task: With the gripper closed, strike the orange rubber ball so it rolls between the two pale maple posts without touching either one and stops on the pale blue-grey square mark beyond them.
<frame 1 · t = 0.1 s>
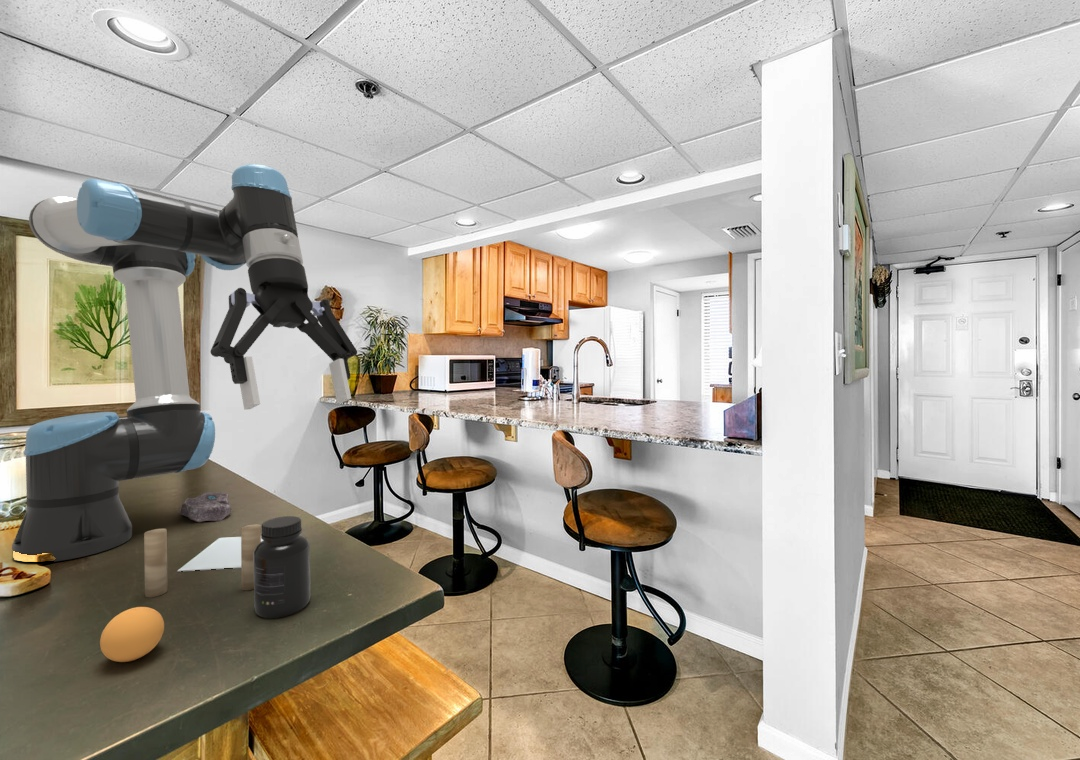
hand: (302, 403, 67), 28 cm above the table, tool tilted 20°, fingers open, 13 cm apart
ball: (133, 633, 53), on the table
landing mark: (244, 551, 83), on the table
post 1: (156, 592, 68), on the table
post 2: (251, 586, 70), on the table
supplement bottle: (282, 608, 65), on the table
rock: (205, 517, 101), on the table
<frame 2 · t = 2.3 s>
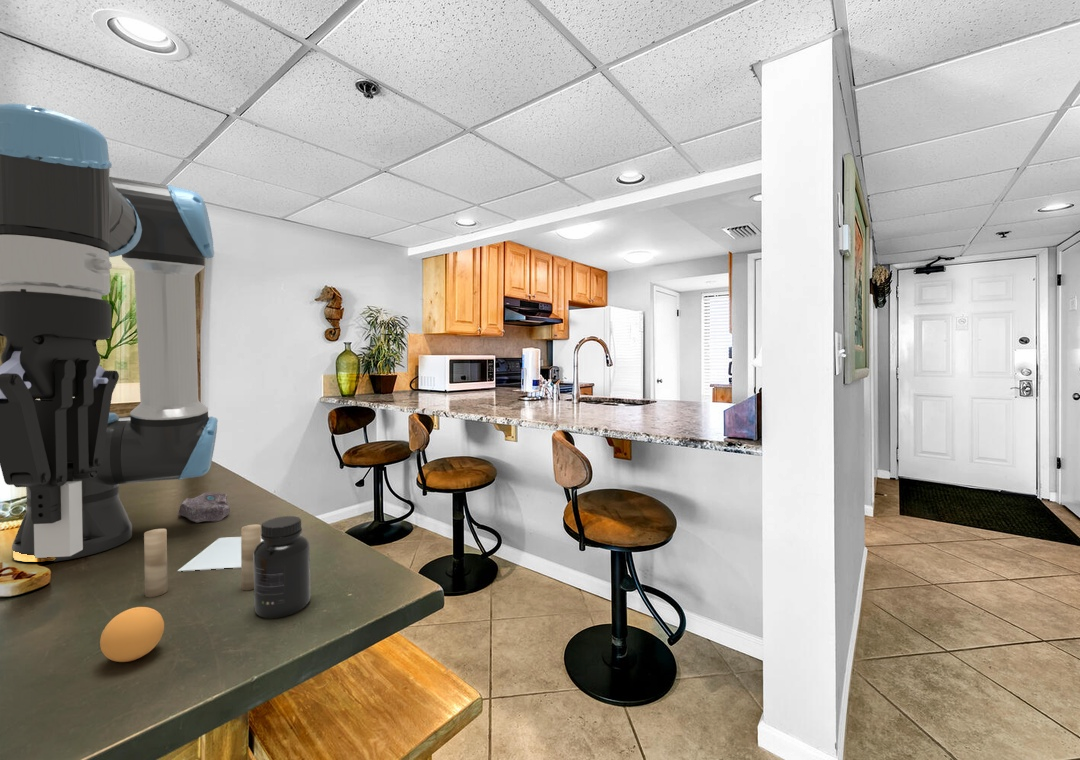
hand: (59, 553, 43), 16 cm above the table, tool pointing down, fingers closed
nothing on the table moved.
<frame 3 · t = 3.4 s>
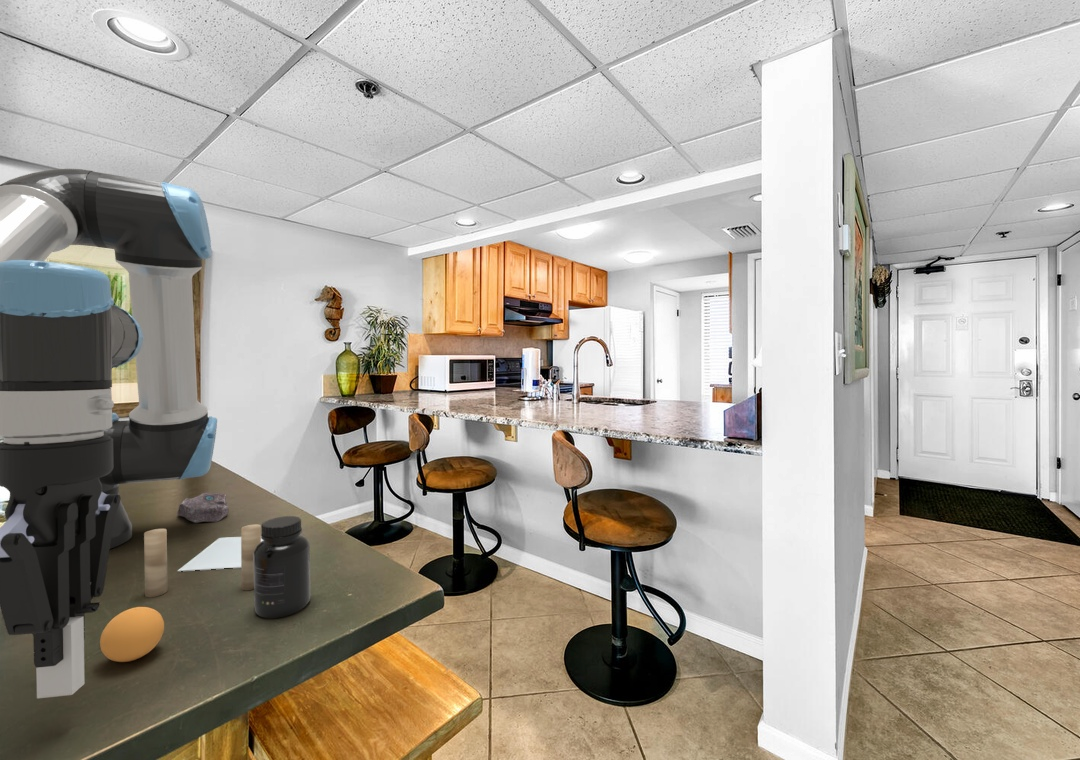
hand: (61, 690, 43), 3 cm above the table, tool pointing down, fingers closed
nothing on the table moved.
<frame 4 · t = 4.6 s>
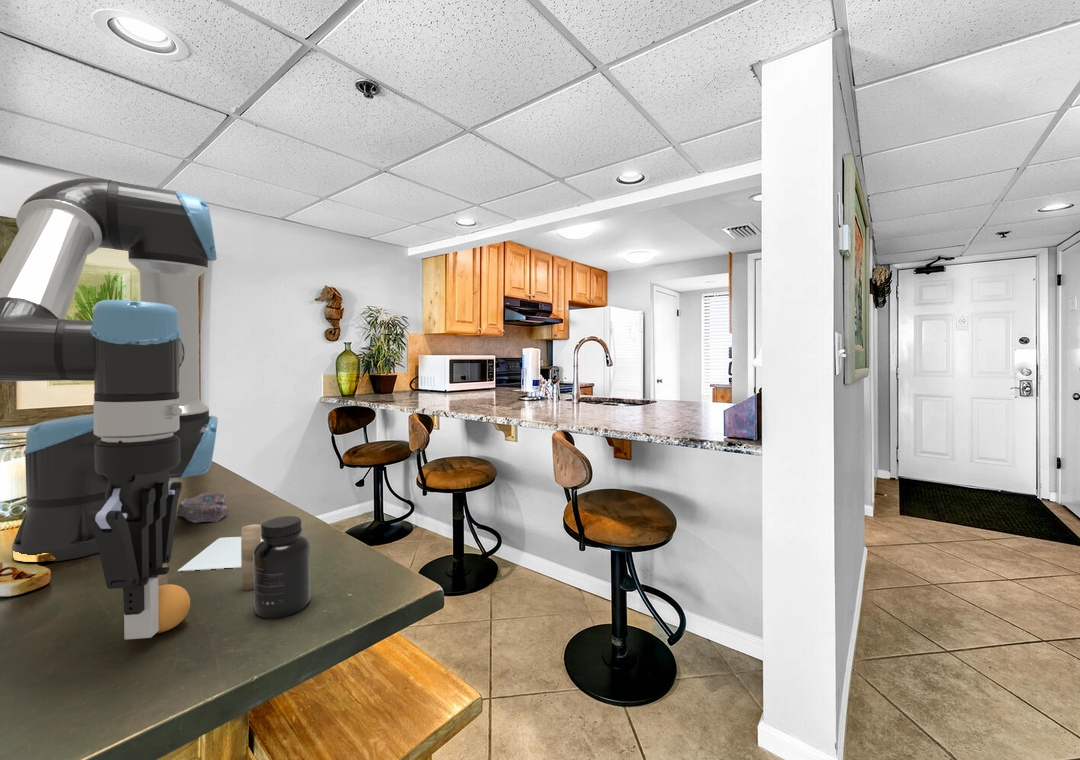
hand: (141, 634, 55), 1 cm above the table, tool pointing down, fingers closed
ball: (162, 608, 59), on the table
everything else where it was.
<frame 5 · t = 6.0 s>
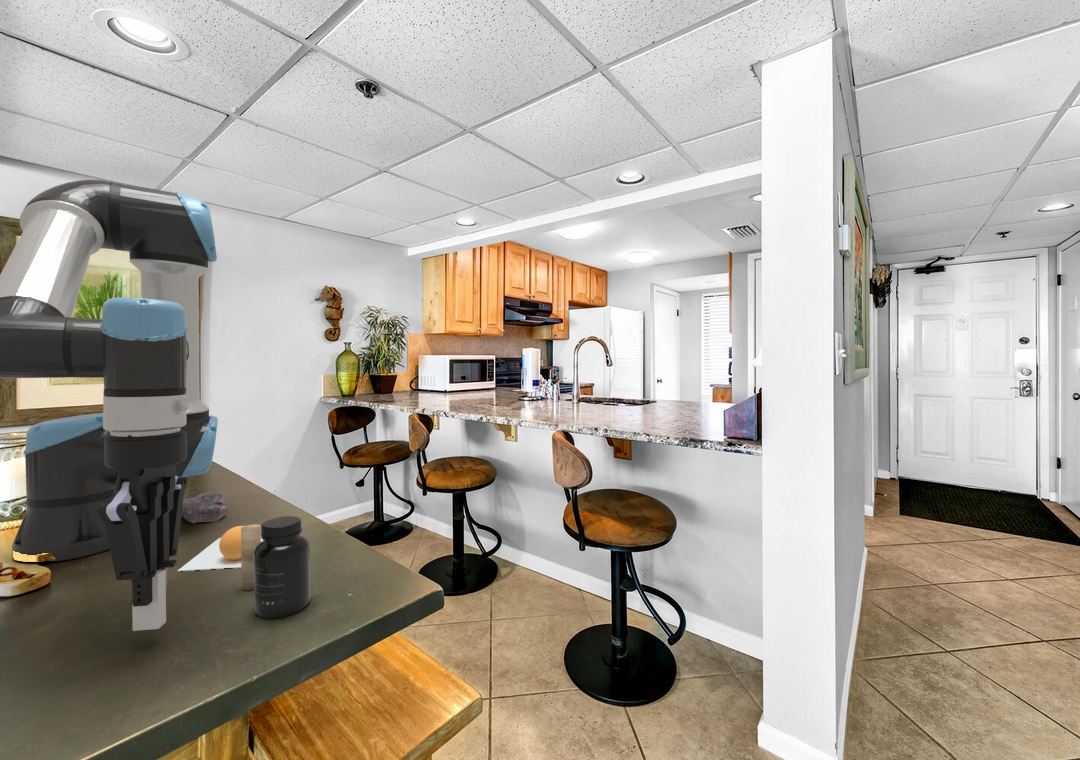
hand: (149, 626, 56), 2 cm above the table, tool pointing down, fingers closed
ball: (238, 542, 80), on the table
everything else where it was.
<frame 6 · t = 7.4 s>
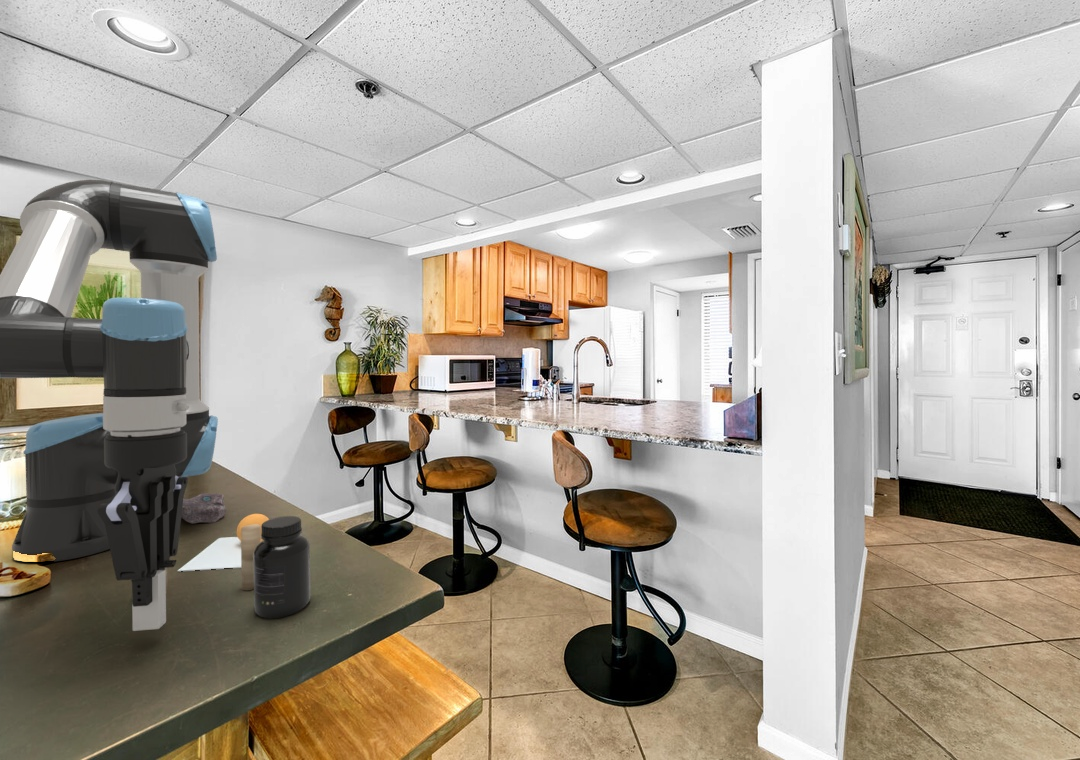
hand: (149, 626, 56), 2 cm above the table, tool pointing down, fingers closed
ball: (254, 529, 86), on the table
everything else where it was.
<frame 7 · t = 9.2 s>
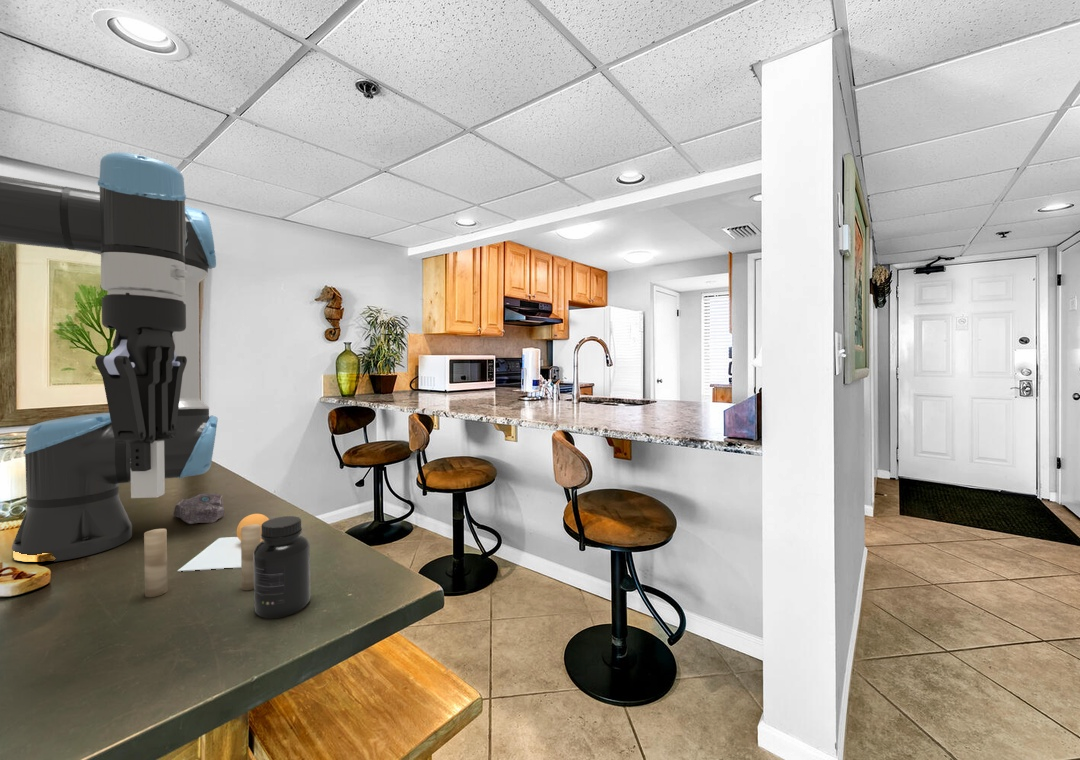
hand: (148, 495, 56), 18 cm above the table, tool pointing down, fingers closed
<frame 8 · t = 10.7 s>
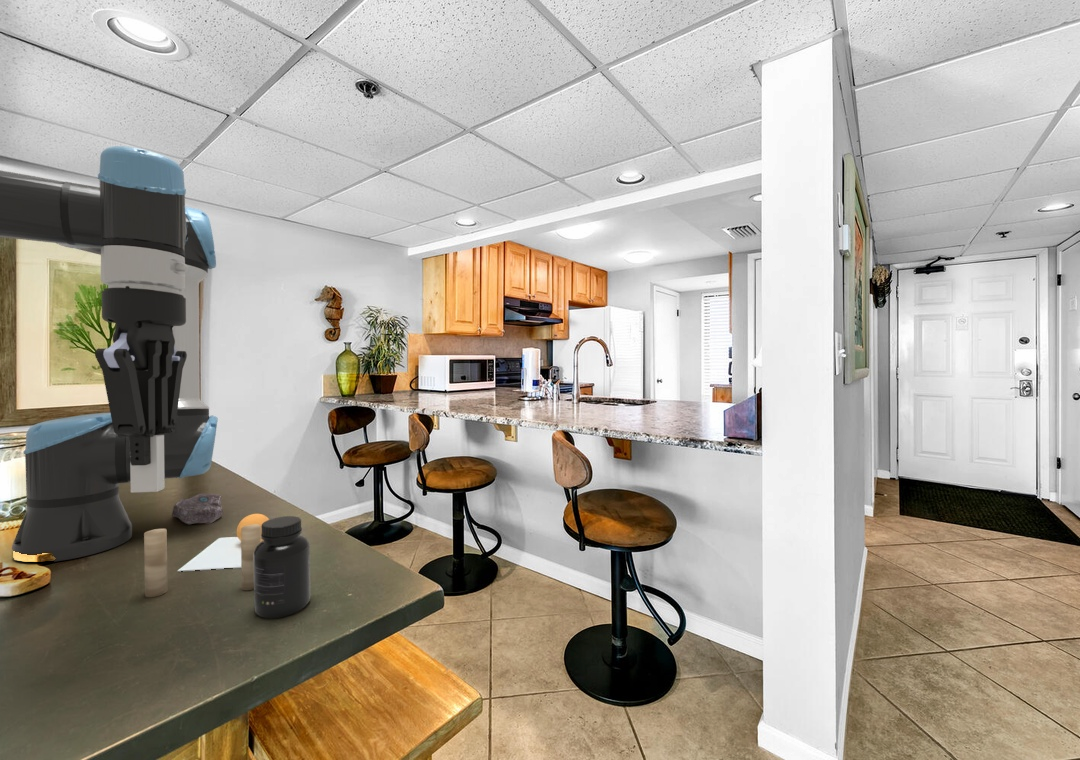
hand: (147, 490, 55), 18 cm above the table, tool pointing down, fingers closed
at the end: ball 3.4 cm from the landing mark (horizontally); ball never touched post 2; ball never touched post 1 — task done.
